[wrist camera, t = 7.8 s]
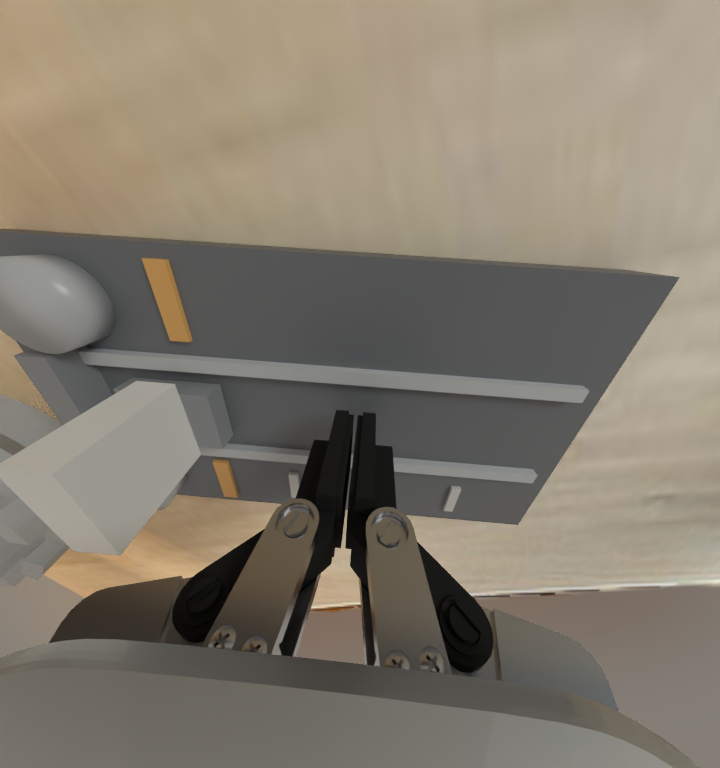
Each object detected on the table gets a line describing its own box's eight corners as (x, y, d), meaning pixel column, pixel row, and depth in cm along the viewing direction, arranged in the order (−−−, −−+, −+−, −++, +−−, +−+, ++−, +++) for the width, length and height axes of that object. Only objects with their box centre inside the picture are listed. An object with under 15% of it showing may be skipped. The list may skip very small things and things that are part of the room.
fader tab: (217, 374, 11) (98, 478, 6) (235, 441, 13) (155, 559, 8) (128, 367, 11) (-55, 465, 6) (159, 435, 13) (38, 547, 8)
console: (627, 269, 10) (735, 285, 7) (503, 495, 17) (530, 551, 14) (12, 229, 10) (-136, 226, 7) (141, 464, 18) (93, 511, 15)
